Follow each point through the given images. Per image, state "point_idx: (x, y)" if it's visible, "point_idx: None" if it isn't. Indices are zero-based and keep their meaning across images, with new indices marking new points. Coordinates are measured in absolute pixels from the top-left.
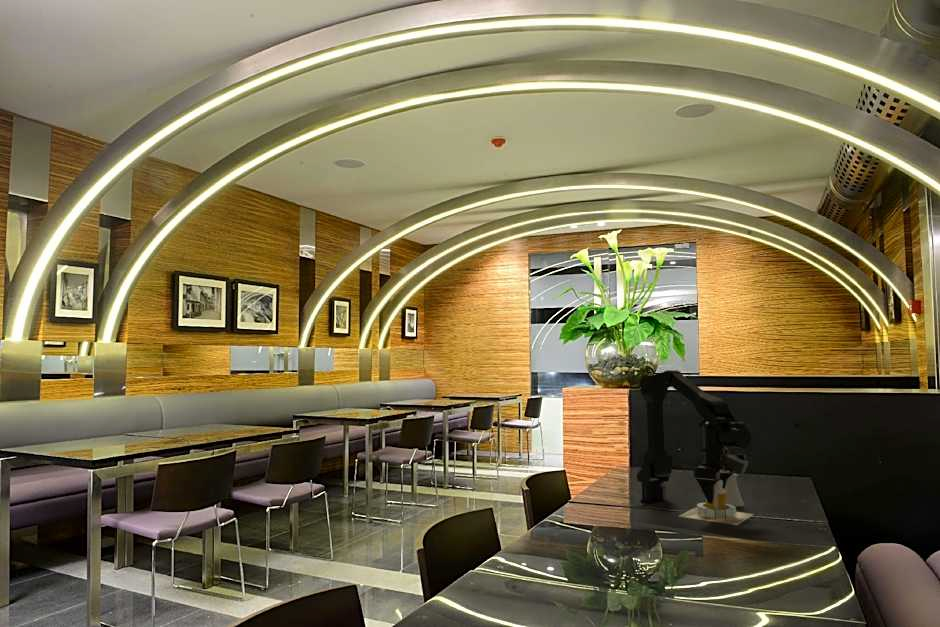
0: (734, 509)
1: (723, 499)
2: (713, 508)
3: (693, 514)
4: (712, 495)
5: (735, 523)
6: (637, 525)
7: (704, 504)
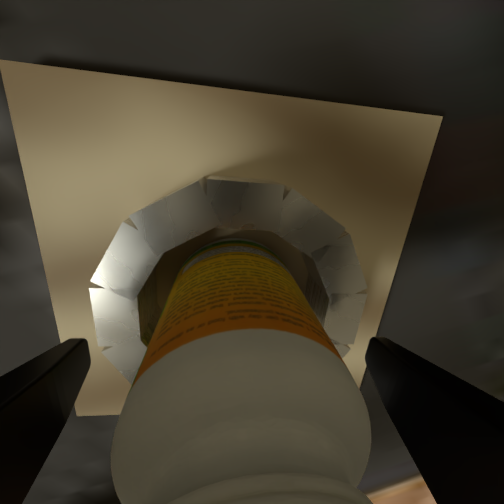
0: (248, 181)
1: (283, 295)
2: (328, 311)
3: None
4: (469, 385)
5: (405, 137)
6: None
7: None
